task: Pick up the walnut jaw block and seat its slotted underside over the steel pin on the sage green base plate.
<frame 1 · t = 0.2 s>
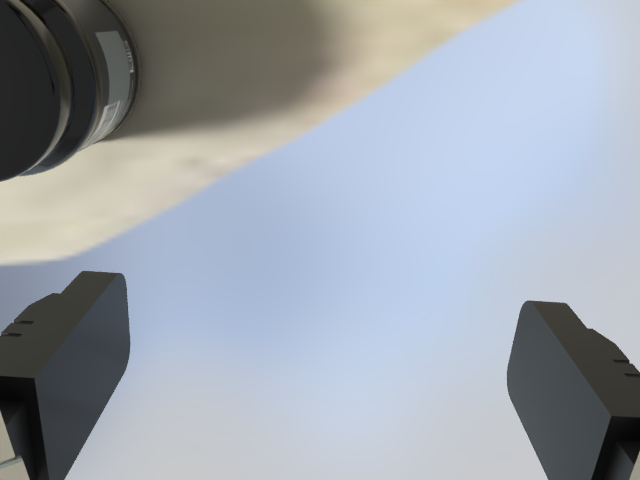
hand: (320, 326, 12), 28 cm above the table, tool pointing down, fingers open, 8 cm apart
supplement container: (66, 63, 37), on the table
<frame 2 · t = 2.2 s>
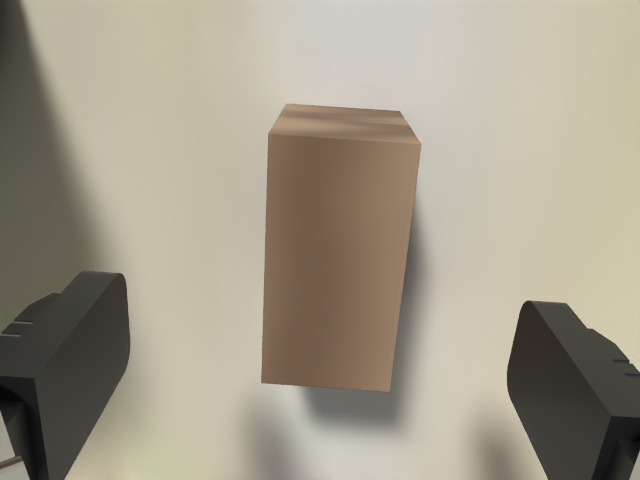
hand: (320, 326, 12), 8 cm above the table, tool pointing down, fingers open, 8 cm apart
jaw block: (335, 212, 19), on the table
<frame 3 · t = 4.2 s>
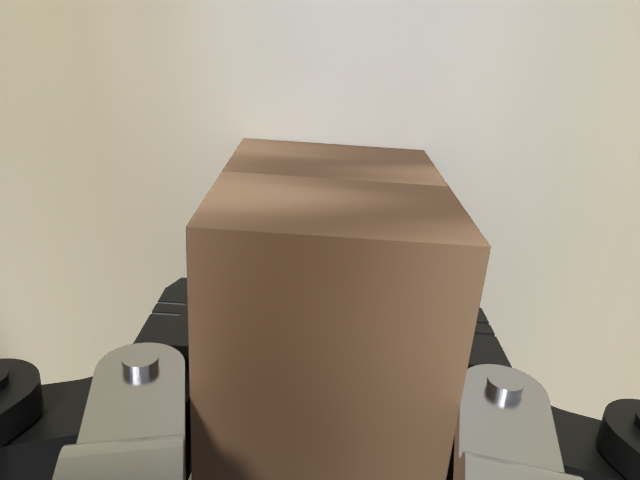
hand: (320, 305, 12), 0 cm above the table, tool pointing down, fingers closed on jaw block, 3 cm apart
jaw block: (322, 300, 13), on the table, touching gripper
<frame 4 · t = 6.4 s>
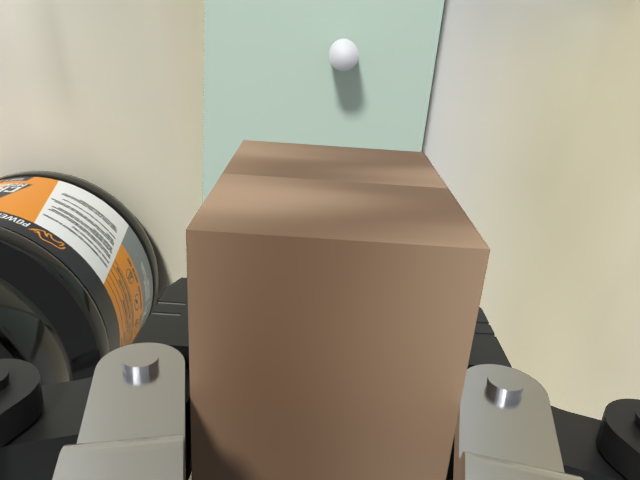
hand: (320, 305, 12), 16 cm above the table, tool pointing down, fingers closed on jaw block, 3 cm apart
jaw block: (321, 301, 13), point 16 cm above the table, touching gripper
supplement container: (66, 261, 30), on the table
pin plate: (318, 72, 26), on the table
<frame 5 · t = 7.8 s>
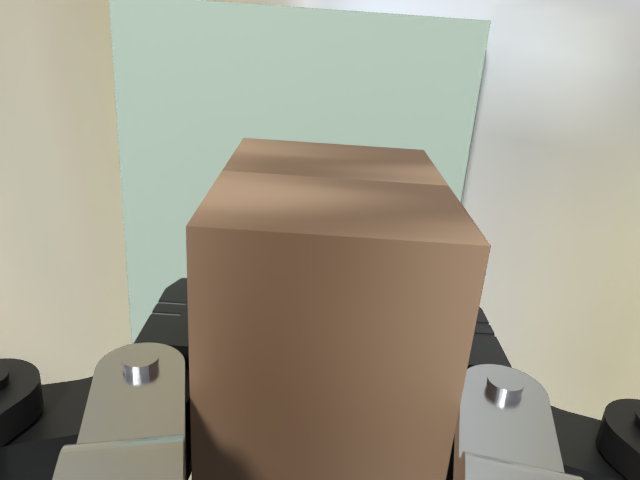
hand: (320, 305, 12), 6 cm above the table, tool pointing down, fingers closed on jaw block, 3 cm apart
jaw block: (322, 299, 13), point 6 cm above the table, touching gripper
pin plate: (290, 240, 18), on the table
when the fingers open (2 cm above the table, at t = 8.9 s): jaw block stays where it is, resting on pin plate.
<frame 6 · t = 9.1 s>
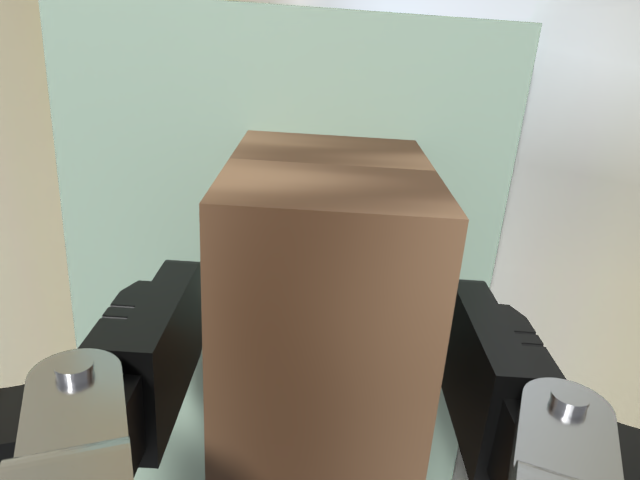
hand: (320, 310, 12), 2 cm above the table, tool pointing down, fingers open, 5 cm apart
jaw block: (322, 281, 14), point 1 cm above the table, touching pin plate
pin plate: (280, 296, 15), on the table
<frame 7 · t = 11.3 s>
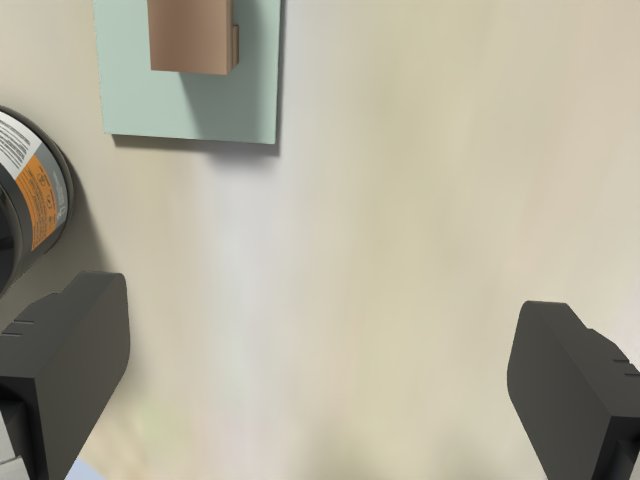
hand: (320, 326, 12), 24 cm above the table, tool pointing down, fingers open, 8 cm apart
pin plate: (190, 10, 32), on the table
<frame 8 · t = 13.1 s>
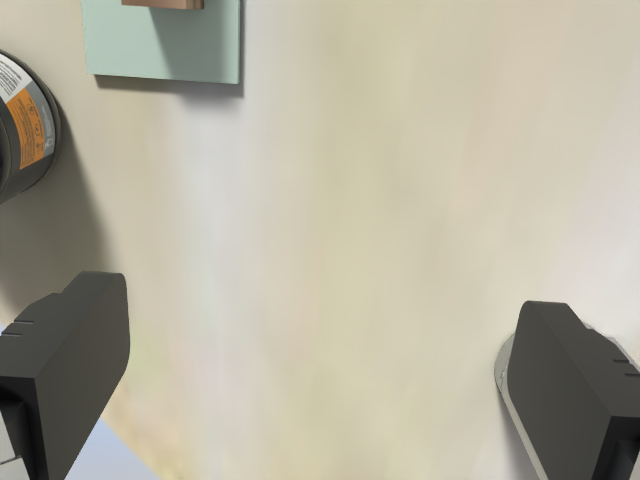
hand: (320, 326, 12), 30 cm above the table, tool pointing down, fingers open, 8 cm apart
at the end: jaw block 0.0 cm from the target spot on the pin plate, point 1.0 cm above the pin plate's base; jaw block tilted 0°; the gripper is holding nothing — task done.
